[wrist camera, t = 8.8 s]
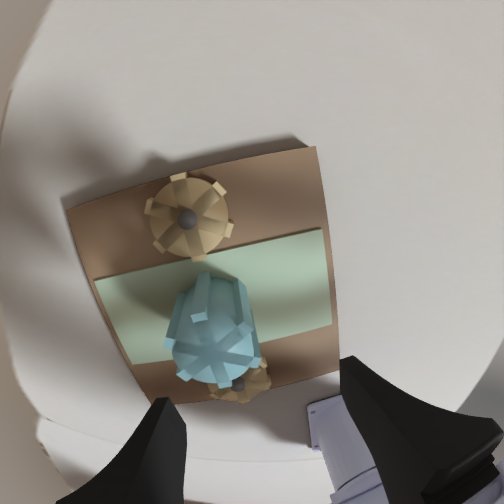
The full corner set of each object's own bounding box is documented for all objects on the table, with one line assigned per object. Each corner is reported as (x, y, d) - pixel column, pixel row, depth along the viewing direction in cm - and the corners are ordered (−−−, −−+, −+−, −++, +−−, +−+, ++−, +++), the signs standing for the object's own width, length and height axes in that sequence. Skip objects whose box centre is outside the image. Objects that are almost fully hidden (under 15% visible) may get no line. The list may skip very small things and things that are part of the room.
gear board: (335, 360, 22) (346, 382, 19) (154, 397, 22) (149, 419, 19) (309, 146, 17) (324, 144, 14) (74, 207, 16) (53, 215, 14)
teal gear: (256, 328, 19) (267, 378, 14) (192, 342, 19) (186, 393, 14) (240, 263, 17) (247, 302, 12) (169, 280, 17) (151, 322, 12)
